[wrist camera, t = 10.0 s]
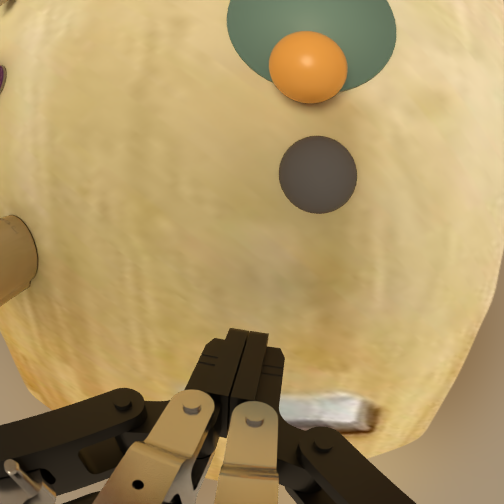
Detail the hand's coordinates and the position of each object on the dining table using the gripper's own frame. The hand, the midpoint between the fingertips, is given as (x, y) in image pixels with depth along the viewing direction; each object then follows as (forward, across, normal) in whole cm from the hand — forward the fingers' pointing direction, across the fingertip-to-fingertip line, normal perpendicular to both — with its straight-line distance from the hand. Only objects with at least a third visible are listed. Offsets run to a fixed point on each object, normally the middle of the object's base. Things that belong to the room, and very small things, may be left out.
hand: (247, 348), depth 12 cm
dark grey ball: (+12, -2, -6) cm, 14 cm away
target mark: (+15, -1, -19) cm, 24 cm away
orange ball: (+12, -1, -14) cm, 18 cm away
